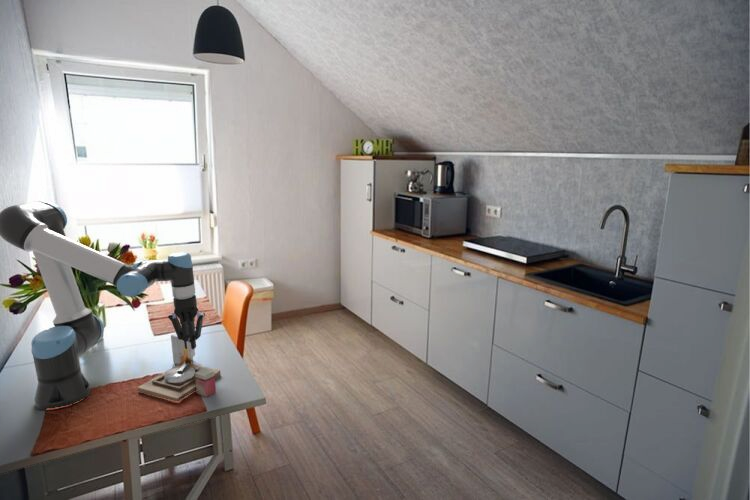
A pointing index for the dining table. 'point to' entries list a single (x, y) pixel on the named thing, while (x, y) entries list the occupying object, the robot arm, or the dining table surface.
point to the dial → (181, 372)
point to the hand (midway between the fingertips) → (191, 356)
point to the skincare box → (177, 349)
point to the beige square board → (172, 391)
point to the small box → (205, 382)
